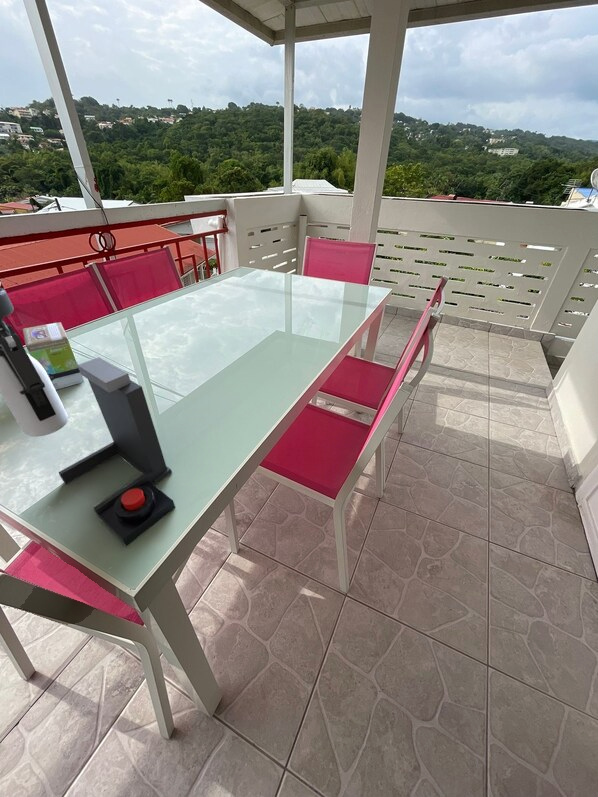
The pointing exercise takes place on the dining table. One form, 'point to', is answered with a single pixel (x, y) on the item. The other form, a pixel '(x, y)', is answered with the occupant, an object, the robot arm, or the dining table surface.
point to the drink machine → (121, 429)
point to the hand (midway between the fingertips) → (38, 408)
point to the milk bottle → (9, 388)
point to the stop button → (133, 499)
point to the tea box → (53, 354)
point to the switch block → (137, 514)
